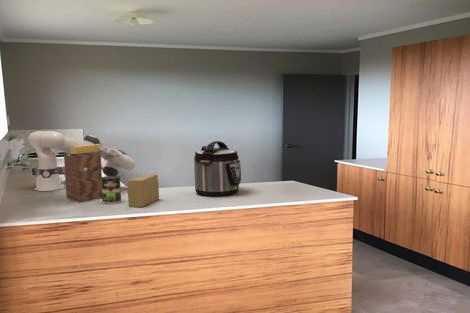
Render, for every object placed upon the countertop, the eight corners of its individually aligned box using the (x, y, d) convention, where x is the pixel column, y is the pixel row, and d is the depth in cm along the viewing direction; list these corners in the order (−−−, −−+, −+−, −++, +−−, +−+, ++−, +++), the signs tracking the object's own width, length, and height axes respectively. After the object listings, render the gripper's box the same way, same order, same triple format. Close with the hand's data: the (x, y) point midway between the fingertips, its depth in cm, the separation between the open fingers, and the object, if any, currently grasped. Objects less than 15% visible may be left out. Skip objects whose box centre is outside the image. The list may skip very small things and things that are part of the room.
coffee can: (120, 203, 246) (119, 177, 244) (101, 204, 244) (100, 178, 242) (121, 199, 256) (120, 175, 254) (103, 200, 254) (102, 176, 252)
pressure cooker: (207, 199, 250) (206, 143, 246) (185, 192, 273) (183, 141, 270) (251, 193, 266) (250, 141, 263) (225, 187, 289) (224, 139, 286)
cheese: (150, 198, 256) (149, 173, 255) (165, 199, 253) (164, 173, 251) (127, 206, 236) (126, 178, 235) (142, 207, 232) (141, 179, 231)
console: (88, 194, 273) (86, 151, 270) (103, 198, 259) (101, 152, 257) (66, 198, 263) (63, 153, 260) (81, 202, 250) (78, 154, 247)
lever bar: (98, 150, 273) (97, 144, 273) (103, 150, 272) (102, 144, 271) (70, 153, 254) (70, 146, 253) (76, 154, 252) (75, 147, 252)
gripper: (119, 161, 270) (101, 151, 260) (103, 159, 284) (85, 150, 275) (124, 152, 271) (105, 142, 262) (107, 150, 286) (89, 141, 276)
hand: (94, 146), depth 269 cm, fingers closed on lever bar, 5 cm apart
